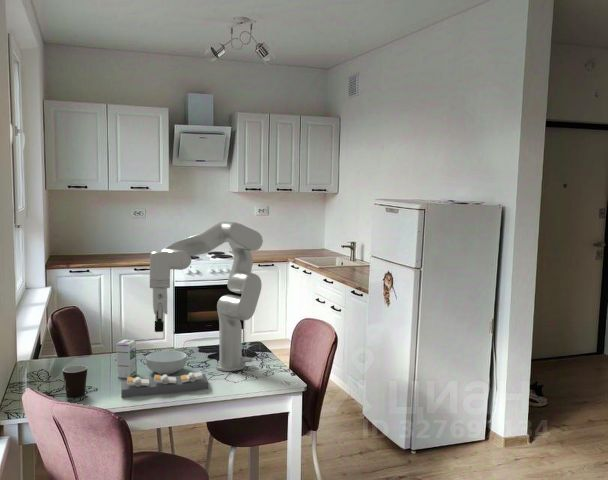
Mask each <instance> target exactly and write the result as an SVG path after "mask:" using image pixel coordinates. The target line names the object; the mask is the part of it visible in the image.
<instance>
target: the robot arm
mask: <svg viewBox="0 0 608 480" xmlns="http://www.w3.org/2000/svg"><path fill="white" fill-rule="evenodd" d="M225 243H228V244H229V246H230V249H231V250H232V253H233V262H232V266H231V269H230V273H229V275H228V279H227V289H228V290H229V291H230V292H233V293H235V294H241V296H239V295H233V294H224V295H222V296H221V297H220V298H219V299H218V301H217V302H216V303H217V304H216V310H217V315H218V323H219V329H218V330H219V331H218V332H219V343H218V344H219V359H218V360H219V361H218V362H217V363H216V364H215V368H216V369H217V370H218V371H222V372H236V371H240V370H243V369H245V367H246V363H253V357H249V356H242V354H243V353H242V351H243V350H242V347H243V346H242V343H243V342H242V341H243V340H242V339H243V337H242V330H243V328H242V327H243V326H242V322H241V321H248V320H250V319H251V318H253V316H254V314H255V311H256V308H257V305H258V302H259V298H260V295H261V291H262V285H263V284H262V280H261V279H262V278H261V277H260V276H259V275H258V274H256V273H254V272H253V273H252V269H253V265H254V256H253V255H252V252H256V251H258V250H259V249H261V247H262V245H263V243H264V240H263V236H262V234H261V233H260V232H258V231H257V230H255V229H253V228H250V227H248V226H246V225H244V224H241V223H238V222H234V221H232V222H231V221H219V222H217V223H215V224H213V225H211V226H210V227H208V228H207V229H205V230H203V231H201V232H199V233H198V234H195V235H192V236H189V237H186V238H183V239H181V240H177V241H175V242H173V243H171V244H169V245H167V246H165V248H163V249H161V250H155V251H152V252H150V254H149V288H150V289H152V309H153V314H154V315H155V320H154V332H155V333H163V332H164V314H165V315H168V289H170V288H171V270H178V271H181V270H182V271H183V270H185V269H188V268H189V267H190V266H191V263H192V256H198V255H204V254H208V253H211V252H212V251H213V250H215V249H217V248H218V247H219V246H222V245H223V244H225Z"/></svg>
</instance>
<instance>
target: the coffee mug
mask: <svg viewBox="0 0 608 480" xmlns="http://www.w3.org/2000/svg"><path fill="white" fill-rule="evenodd" d="M62 376H63V381H64V388H65V395H66V398H68V399H77V398H82V397H83V396H85V395H86V384H87V377H88V366H86V365H82V364H76V365H74V364H73V365H69V366H67V367H64V368H62Z"/></svg>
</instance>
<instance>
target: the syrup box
mask: <svg viewBox="0 0 608 480" xmlns="http://www.w3.org/2000/svg"><path fill="white" fill-rule="evenodd" d="M116 367H117V369H116V371H117V374H116V375H117V378H121V379H127V377H134V376H135V375H137V373H138V372H137V370H138V369H137V342H136V340H135V339H122V340H121V341H119V342H117V343H116Z"/></svg>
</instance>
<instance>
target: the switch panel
mask: <svg viewBox="0 0 608 480" xmlns="http://www.w3.org/2000/svg"><path fill="white" fill-rule="evenodd" d="M202 375H203V378H199V379H195V381H194V382H191V381H187V382H183V383H182V380H181V376H182V375H176V376H174V375H173V377H176V383H168V384H163V382H155V380H154V377H153V378H152V377H151V378H148V379H149V386H145V385H141V386H139V387H137V386H135V385H132V384H127V380H121V386H120V387H121V392H120V393H121V396H120V397H121V398H123V399H124V398H132V397H134V398H135V397H144V396H152V395H153V396H154V395H164V394H174V393H185V392H195V391H197V392H198V391H206V390H207V391H208V390H209V380H208V377H207V375H206V373H202Z"/></svg>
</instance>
